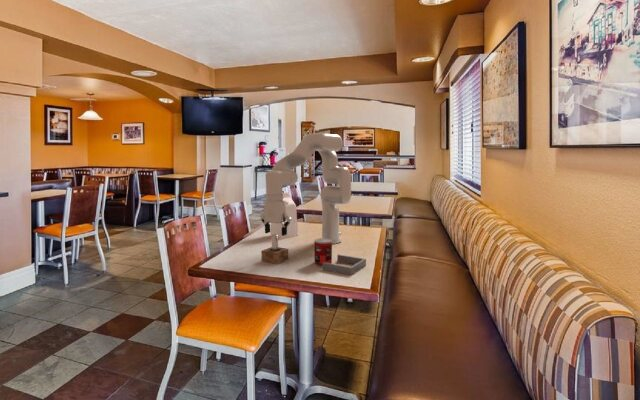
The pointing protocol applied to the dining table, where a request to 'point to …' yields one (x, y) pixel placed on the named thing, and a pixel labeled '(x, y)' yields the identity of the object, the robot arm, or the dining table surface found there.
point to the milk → (291, 212)
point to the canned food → (322, 251)
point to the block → (275, 255)
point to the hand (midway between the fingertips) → (275, 233)
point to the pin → (275, 242)
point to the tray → (345, 269)
